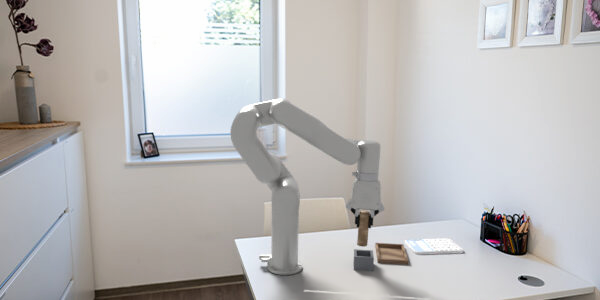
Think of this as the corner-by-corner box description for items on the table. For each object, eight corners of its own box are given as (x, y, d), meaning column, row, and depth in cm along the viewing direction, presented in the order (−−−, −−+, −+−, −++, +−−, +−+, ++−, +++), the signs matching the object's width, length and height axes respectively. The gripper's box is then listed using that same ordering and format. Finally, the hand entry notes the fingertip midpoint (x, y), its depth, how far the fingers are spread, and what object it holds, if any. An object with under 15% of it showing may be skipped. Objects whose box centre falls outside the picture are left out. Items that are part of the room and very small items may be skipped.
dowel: (357, 246, 164) (359, 213, 162) (357, 242, 167) (359, 210, 165) (367, 246, 163) (370, 214, 161) (367, 243, 167) (369, 211, 165)
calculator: (464, 254, 183) (464, 249, 182) (415, 255, 180) (415, 251, 180) (449, 241, 196) (449, 237, 195) (403, 242, 193) (403, 238, 193)
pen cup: (353, 271, 164) (354, 256, 163) (353, 263, 171) (354, 249, 170) (373, 272, 163) (373, 257, 162) (372, 264, 170) (372, 250, 169)
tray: (408, 266, 169) (408, 260, 169) (377, 264, 170) (378, 259, 170) (402, 249, 185) (403, 244, 185) (375, 247, 186) (375, 242, 186)
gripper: (343, 177, 158) (339, 228, 161) (392, 180, 156) (388, 232, 160) (343, 172, 165) (340, 221, 169) (390, 175, 164) (386, 225, 167)
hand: (363, 226), depth 164 cm, fingers closed on dowel, 3 cm apart
